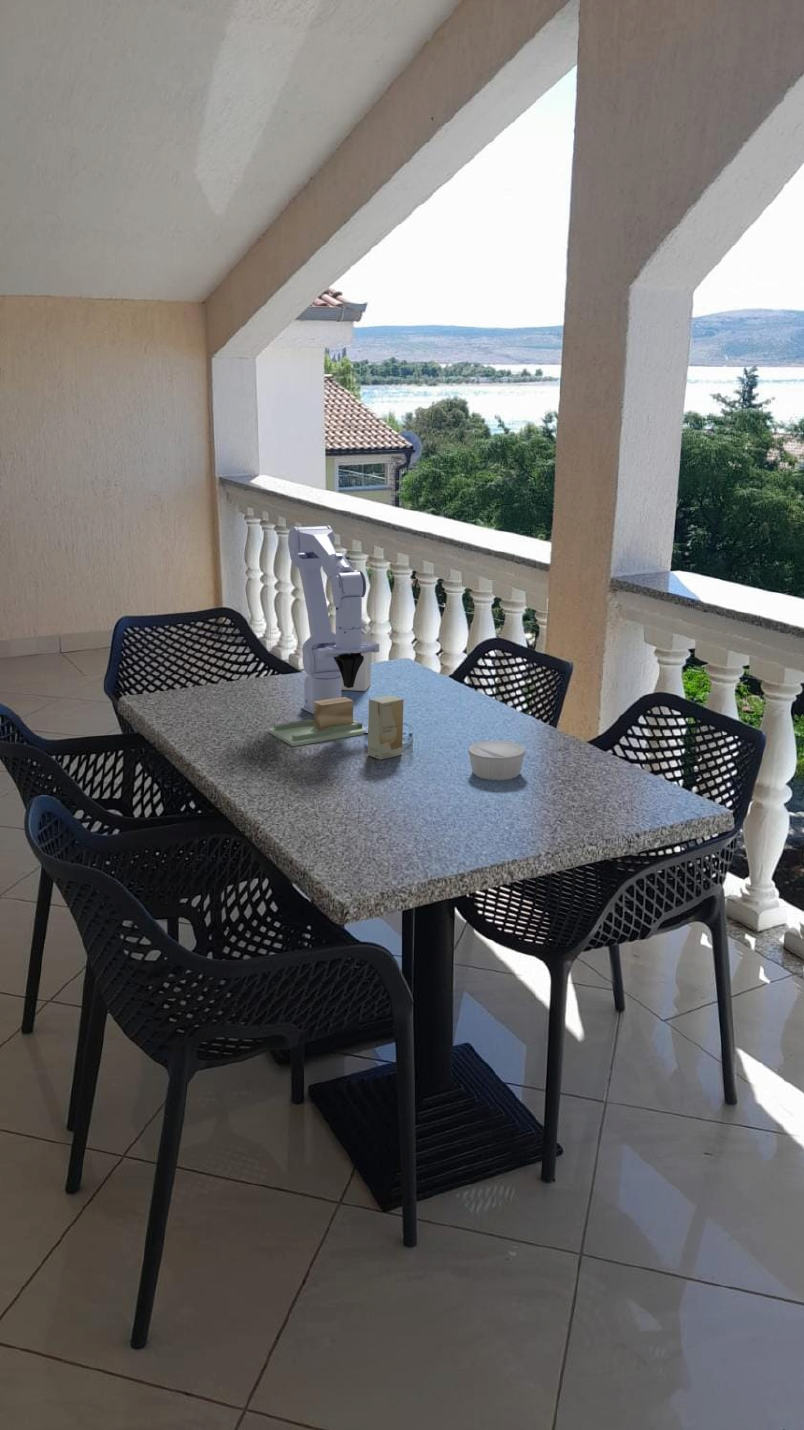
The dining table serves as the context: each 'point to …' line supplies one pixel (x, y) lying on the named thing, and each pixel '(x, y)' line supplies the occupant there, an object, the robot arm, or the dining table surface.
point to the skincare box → (385, 727)
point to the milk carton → (365, 669)
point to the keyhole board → (313, 732)
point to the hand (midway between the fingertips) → (348, 686)
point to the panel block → (333, 712)
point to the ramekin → (496, 760)
